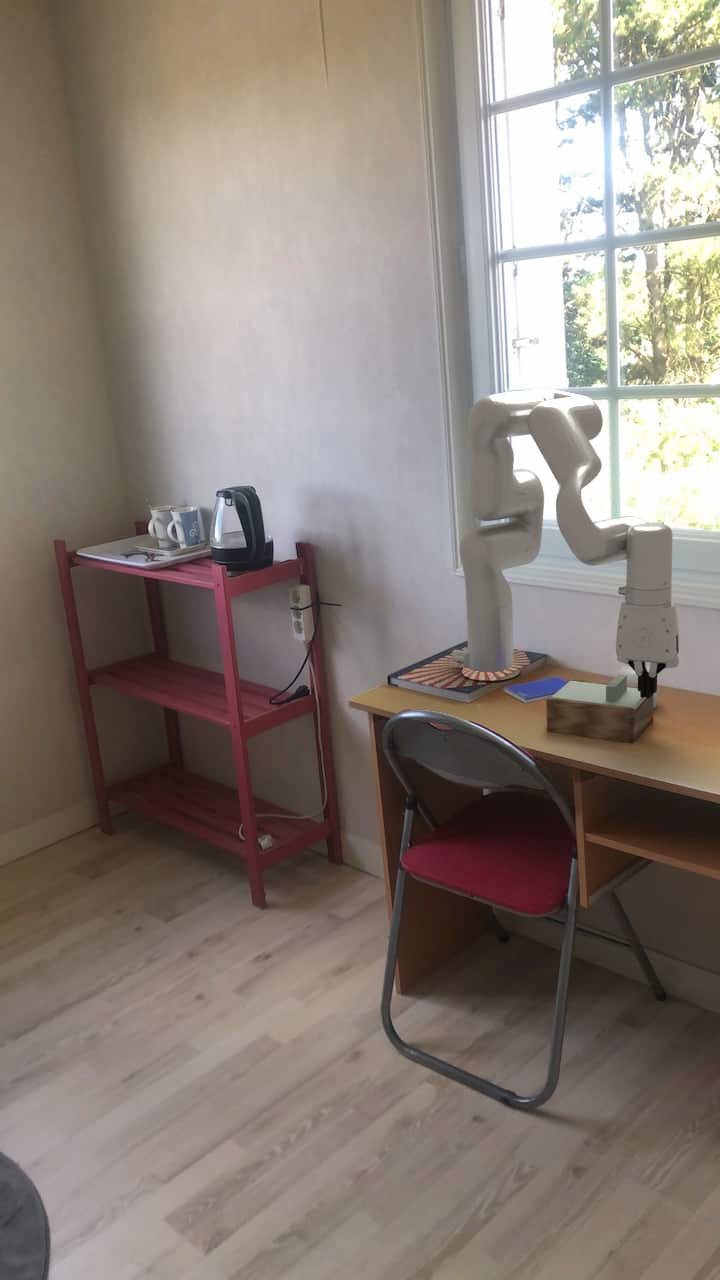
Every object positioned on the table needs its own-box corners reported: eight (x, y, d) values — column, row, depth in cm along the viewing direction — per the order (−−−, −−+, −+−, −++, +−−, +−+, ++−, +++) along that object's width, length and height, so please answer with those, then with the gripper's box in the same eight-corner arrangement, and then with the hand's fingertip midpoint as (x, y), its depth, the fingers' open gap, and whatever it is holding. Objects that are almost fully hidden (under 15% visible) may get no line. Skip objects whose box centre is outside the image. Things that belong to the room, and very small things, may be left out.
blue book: (525, 697, 213) (578, 686, 218) (503, 686, 220) (555, 675, 225) (525, 705, 214) (578, 694, 218) (503, 693, 221) (555, 683, 225)
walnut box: (546, 730, 199) (546, 698, 197) (569, 709, 208) (569, 678, 207) (633, 743, 191) (633, 709, 189) (653, 720, 200) (653, 688, 199)
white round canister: (614, 708, 208) (614, 673, 206) (625, 697, 213) (625, 663, 211) (650, 713, 204) (651, 677, 202) (661, 701, 210) (661, 666, 208)
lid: (551, 702, 198) (550, 682, 197) (570, 685, 206) (570, 666, 205) (632, 712, 190) (632, 692, 189) (649, 694, 198) (649, 675, 197)
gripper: (599, 597, 189) (599, 697, 194) (686, 604, 181) (684, 708, 186) (613, 587, 195) (612, 684, 200) (698, 593, 187) (695, 694, 193)
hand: (647, 695), depth 193 cm, fingers closed
